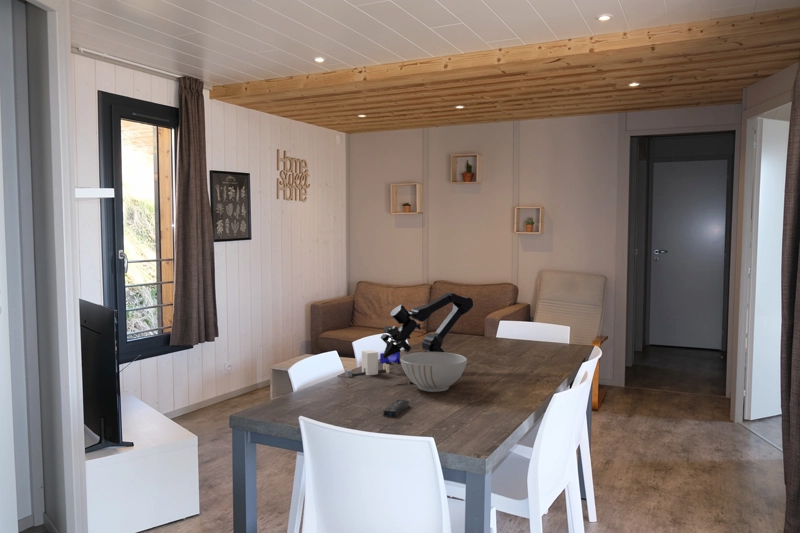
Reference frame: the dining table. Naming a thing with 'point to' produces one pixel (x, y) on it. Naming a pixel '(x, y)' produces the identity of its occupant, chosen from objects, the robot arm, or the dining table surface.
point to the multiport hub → (396, 408)
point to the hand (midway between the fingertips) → (383, 357)
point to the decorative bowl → (433, 369)
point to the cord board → (350, 374)
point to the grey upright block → (370, 362)
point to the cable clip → (390, 358)
